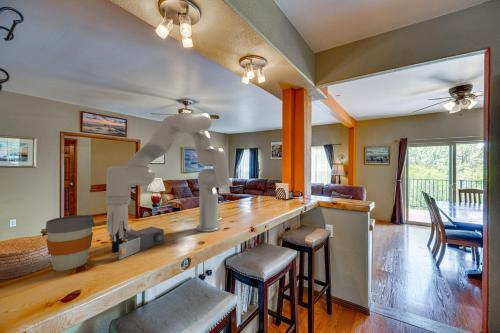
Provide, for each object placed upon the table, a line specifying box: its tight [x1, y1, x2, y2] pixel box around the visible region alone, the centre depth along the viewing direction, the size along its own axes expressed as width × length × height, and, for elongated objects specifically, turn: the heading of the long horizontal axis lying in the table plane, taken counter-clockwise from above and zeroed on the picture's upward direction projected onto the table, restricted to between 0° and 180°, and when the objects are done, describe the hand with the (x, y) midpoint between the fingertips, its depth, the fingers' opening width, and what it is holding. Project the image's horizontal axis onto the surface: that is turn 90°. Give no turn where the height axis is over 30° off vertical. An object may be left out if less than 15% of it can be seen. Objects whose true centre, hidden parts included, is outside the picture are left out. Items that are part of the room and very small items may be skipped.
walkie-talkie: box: [123, 226, 136, 243], centre depth 100 cm, size 9×4×20 cm
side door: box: [118, 237, 141, 260], centre depth 80 cm, size 1×9×5 cm, turn 160°
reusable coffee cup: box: [44, 214, 95, 271], centre depth 73 cm, size 13×13×15 cm
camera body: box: [127, 226, 165, 252], centre depth 91 cm, size 11×10×6 cm
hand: (117, 251), depth 78 cm, fingers closed
